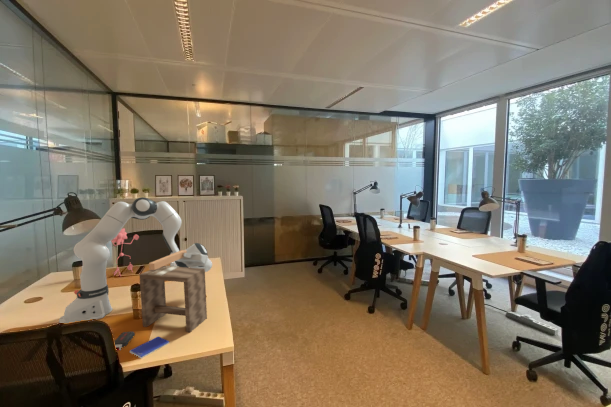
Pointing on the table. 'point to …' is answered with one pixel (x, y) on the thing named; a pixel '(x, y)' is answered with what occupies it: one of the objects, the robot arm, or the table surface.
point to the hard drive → (149, 347)
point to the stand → (156, 301)
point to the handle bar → (166, 260)
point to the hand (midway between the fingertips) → (179, 254)
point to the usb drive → (123, 339)
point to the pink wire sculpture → (120, 240)
